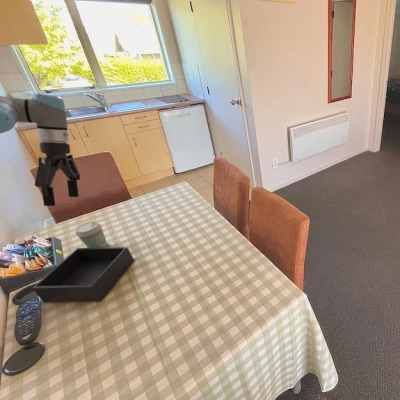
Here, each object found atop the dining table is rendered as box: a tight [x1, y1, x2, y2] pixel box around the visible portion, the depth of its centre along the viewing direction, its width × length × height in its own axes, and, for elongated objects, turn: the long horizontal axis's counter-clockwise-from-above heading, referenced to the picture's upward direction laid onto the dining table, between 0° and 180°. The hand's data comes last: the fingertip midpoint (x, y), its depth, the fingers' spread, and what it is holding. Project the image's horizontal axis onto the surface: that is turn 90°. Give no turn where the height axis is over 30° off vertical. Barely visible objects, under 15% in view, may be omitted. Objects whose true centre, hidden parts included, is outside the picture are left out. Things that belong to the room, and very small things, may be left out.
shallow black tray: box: [31, 246, 135, 303], centre depth 98 cm, size 20×20×7 cm
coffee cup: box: [75, 221, 109, 248], centre depth 111 cm, size 9×9×12 cm
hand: (62, 201), depth 97 cm, fingers open, 13 cm apart
